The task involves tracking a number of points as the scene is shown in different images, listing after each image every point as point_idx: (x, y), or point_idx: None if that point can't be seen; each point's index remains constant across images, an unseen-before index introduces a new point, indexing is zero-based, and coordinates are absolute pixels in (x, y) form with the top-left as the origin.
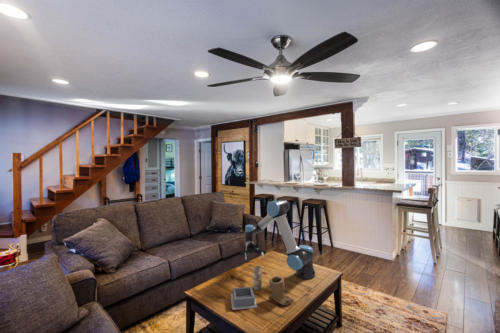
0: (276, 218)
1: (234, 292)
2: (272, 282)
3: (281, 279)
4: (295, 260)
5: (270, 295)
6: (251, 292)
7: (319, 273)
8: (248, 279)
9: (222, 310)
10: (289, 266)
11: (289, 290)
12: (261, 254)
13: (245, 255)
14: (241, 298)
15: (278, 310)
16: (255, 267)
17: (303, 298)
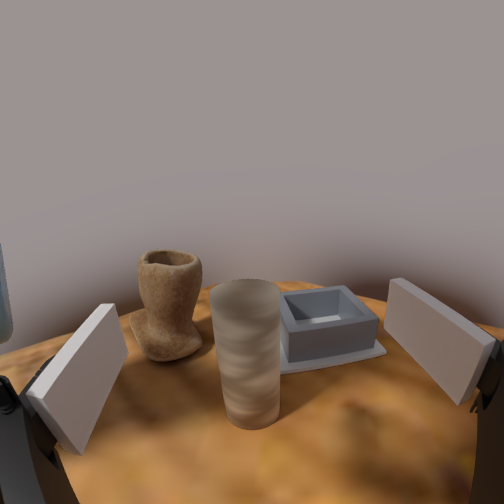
0: None
1: (359, 303)
2: (193, 255)
3: (151, 253)
4: (2, 259)
5: (200, 341)
6: (286, 308)
7: None
8: (324, 499)
9: (373, 305)
10: (11, 327)
11: None
12: (73, 442)
13: (418, 288)
14: (321, 288)
15: (196, 312)
16: (261, 294)
17: None
